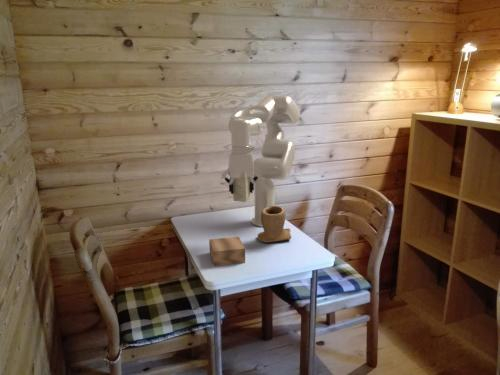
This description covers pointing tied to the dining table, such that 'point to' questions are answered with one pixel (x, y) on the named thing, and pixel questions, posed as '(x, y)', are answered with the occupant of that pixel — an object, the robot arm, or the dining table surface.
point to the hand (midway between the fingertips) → (241, 192)
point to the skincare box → (241, 188)
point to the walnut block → (227, 251)
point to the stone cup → (273, 225)
